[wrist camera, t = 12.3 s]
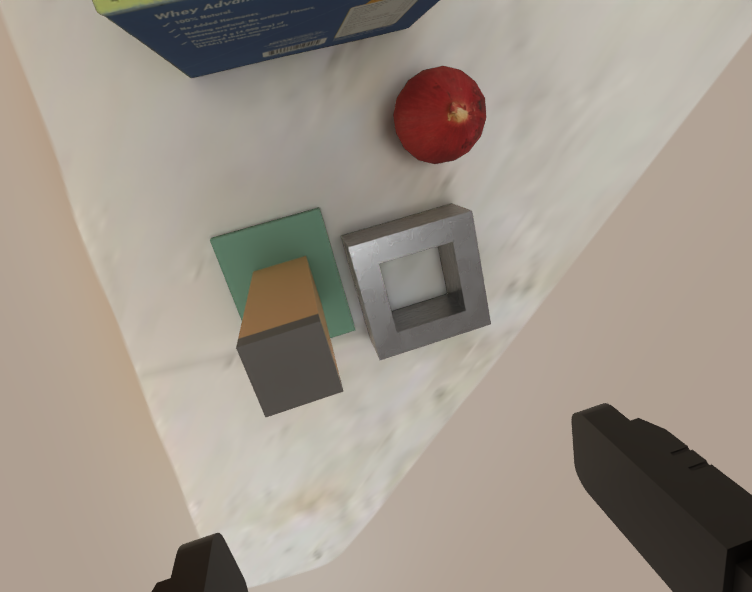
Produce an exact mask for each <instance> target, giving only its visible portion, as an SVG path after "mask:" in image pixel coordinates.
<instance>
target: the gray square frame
mask: <svg viewBox="0 0 752 592" xmlns="http://www.w3.org/2000/svg"><path fill="white" fill-rule="evenodd" d="M341 238H342V241H343V245H344V248H345V252H346V255H347V259H348V262H349V266H350V269H351V273H352V276H353V280H354V283H355V287H356V291H357V294H358V298H359V301H360V305H361V308H362V312H363V315H364V319H365V322H366V326H367V329H368V333H369V336H370V339H371V342H372V344H373V346H374V348H375V350H376V353H377V355H378V357H379V359H380V360H382V359H386V358H389V357H392V356H395V355H398V354H401V353H404V352H407V351H410V350H413V349H416V348H419V347H422V346H425V345H429V344H432V343H435V342H438V341H441V340H444V339H447V338H450V337H453V336H456V335H459V334H462V333H465V332H469V331H472V330H475V329H478V328H481V327H484V326H487V325H490V324H491V321H490V315H489V309H488V303H487V297H486V291H485V285H484V279H483V273H482V267H481V261H480V255H479V249H478V243H477V237H476V231H475V225H474V219H473V213H472V211H471V210H469V209H466V208H463V207H460V206H457V205H455V204H452V203H451V204H448V205H445V206H441V207H438V208H434V209H431V210H428V211H424V212H421V213H417V214H414V215H411V216H407V217H404V218H400V219H397V220H393V221H390V222H387V223H383V224H380V225H376V226H373V227H370V228H366V229H363V230H359V231H356V232H352V233H349V234H346V235H342V236H341ZM437 246H438V249H439V254H440V259H441V264H442V269H443V274H444V279H445V284H446V289H447V294H446V295H443V296H439V297H436V298H433V299H430V300H427V301H424V302H420V303H417V304H414V305H411V306H408V307H405V308H401V309H398V310H395V311H392V312H391V308H390V304H389V301H388V297H387V293H386V289H385V285H384V281H383V277H382V273H381V269H380V266H379V264H381V263H384V262H387V261H390V260H394V259H397V258H400V257H404V256H407V255H410V254H414V253H417V252H420V251H424V250H427V249H430V248H433V247H437Z"/></svg>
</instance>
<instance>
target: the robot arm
mask: <svg viewBox="0 0 752 592" xmlns="http://www.w3.org/2000/svg"><path fill="white" fill-rule="evenodd" d="M572 434H573V450H574V464H575V469H576V472H577V475H578V477H579V479H580V481H581V483H582V485H583V487H584V488H585V490H586V491H587V492H588V494H589V495H590V496H591V497H592V498H593V500H594V501H595V502H596V503H597V504H598V505H599V506H600V508H601V509H602V510H603V511H604V512H605V513H606V515H607V516H608V517H609V518H610V519H611V520H612V521H613V523H614V524H615V525H616V526H617V527H618V529H619V530H620V531H621V532H622V533H623V534H624V535H625V537H626V538H627V539H628V540H629V541H630V542H631V544H632V545H633V546H634V547H635V548H636V549H637V551H638V552H639V553H640V554H641V555H642V556H643V558H644V559H645V560H646V561H647V562H648V563H649V565H650V566H651V567H652V568H653V569H654V570H655V572H656V573H657V574H658V575H659V576H660V577H661V578H662V580H663V581H664V582H665V583H666V584H667V585H668V587H669V588H670V589H671V590H672V591H673V592H752V495H751V494H750V493H748V492H747V491H746V490H744V489H743V488H742V487H740V486H739V485H738V484H737V483H735V482H734V481H733V480H731V479H730V478H729V477H727V476H726V475H725V474H723V473H722V472H721V471H720V470H718V469H717V468H716V467H714V466H713V465H709V464H708V463H707V461H706V460H705V459H704V458H702V457H701V456H700V455H699V454H697V453H696V452H695V451H693V450H689V448H688V446H687V445H685V444H684V443H683V442H681V441H680V440H679V439H678V438H676V437H675V436H674V435H672V434H671V433H670V432H668V431H667V430H666V429H664V428H661V427H659V426H656V425H654V424H652V423H649V422H647V421H645V420H642V419H640V418H637V419H634V420H631V421H630V420H629V419H628V418H626V417H625V416H624V415H623V414H621V413H620V412H619V411H618V410H617V409H615V408H614V407H613V406H611V405H609V404H606V403H603V404H600V405H597V406H594V407H592V408H589V409H586V410H583V411H580V412H577V413H574V414H573V416H572ZM152 592H248V589H247V585H246V582H245V579H244V577H243V575H242V573H241V571H240V569H239V567H238V565H237V563H236V561H235V559H234V557H233V555H232V553H231V551H230V549H229V547H228V545H227V543H226V541H225V539H224V538H223V536H222V535H221V534H220V533H215V534H212V535H209V536H206V537H203V538H200V539H198V540H194V541H192V542H189V543H186V544H183V545H181V546H180V547H179V549H178V551H177V554H176V558H175V562H174V566H173V571H172V575H171V578H170V579H167V580H164V581H161V582H158V583H157V584H156V585H155V587H154V589H153V590H152Z"/></svg>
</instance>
